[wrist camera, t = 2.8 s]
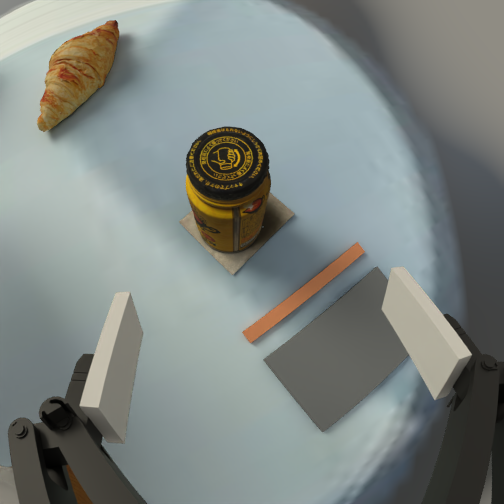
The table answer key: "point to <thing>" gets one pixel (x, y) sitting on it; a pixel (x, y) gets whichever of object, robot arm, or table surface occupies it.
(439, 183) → the table surface
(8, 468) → the disposable coffee cup
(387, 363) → the mat
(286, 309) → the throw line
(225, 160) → the condiment
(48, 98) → the croissant
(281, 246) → the table surface
